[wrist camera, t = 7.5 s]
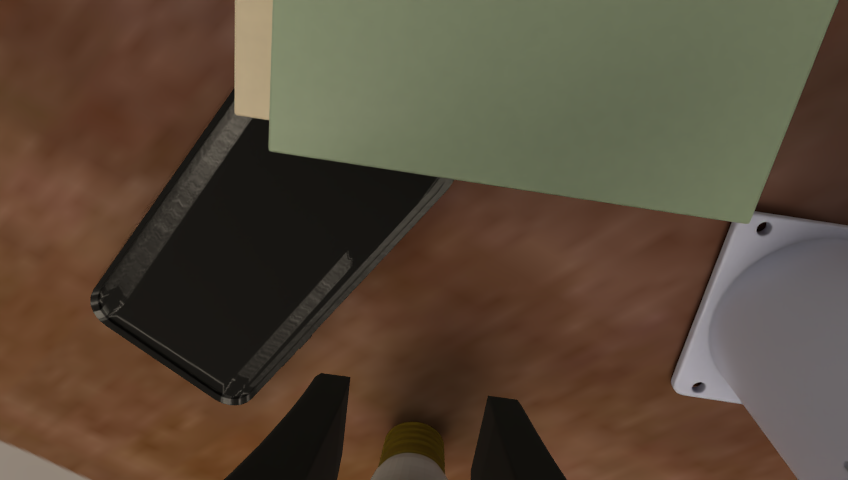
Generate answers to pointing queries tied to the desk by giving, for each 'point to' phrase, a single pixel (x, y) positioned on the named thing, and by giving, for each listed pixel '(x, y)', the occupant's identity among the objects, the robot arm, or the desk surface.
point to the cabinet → (550, 93)
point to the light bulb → (412, 454)
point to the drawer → (253, 58)
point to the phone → (252, 254)
